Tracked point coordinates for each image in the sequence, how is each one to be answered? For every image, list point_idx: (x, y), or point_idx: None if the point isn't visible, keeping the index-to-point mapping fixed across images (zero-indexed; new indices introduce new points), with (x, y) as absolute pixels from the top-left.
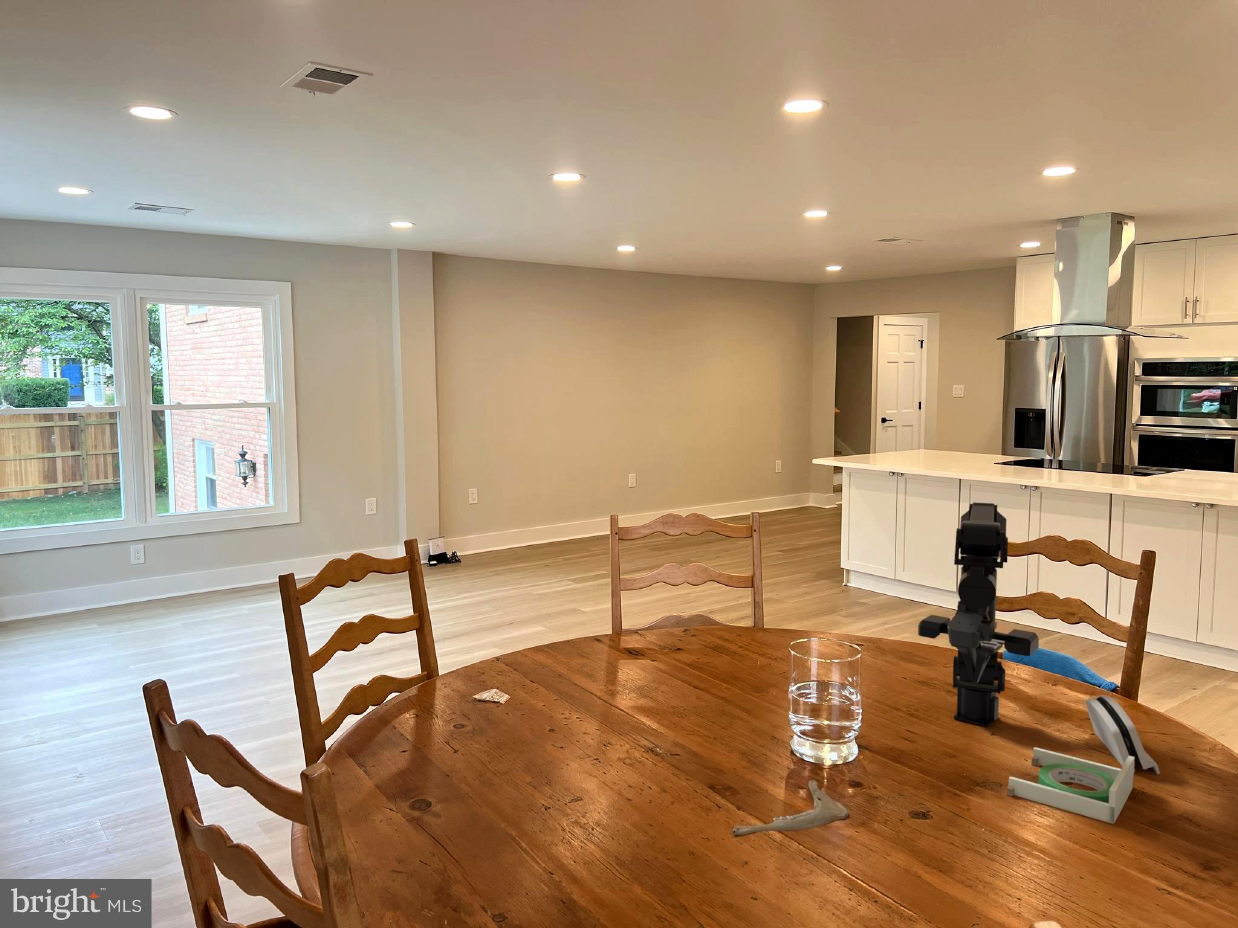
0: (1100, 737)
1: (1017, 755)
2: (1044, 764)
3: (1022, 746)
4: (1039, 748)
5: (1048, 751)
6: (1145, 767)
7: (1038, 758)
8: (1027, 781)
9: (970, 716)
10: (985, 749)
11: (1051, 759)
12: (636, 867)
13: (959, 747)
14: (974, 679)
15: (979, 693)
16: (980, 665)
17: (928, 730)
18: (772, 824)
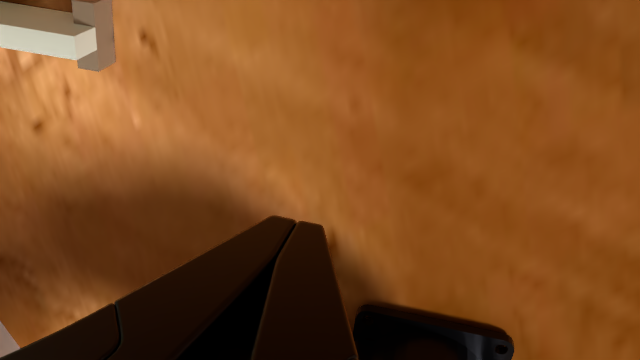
0: (7, 342)
1: (188, 69)
2: (63, 13)
3: (197, 176)
4: (55, 54)
5: (13, 38)
6: None
7: (75, 21)
8: None
9: (435, 343)
10: (324, 65)
11: (15, 15)
12: None
13: (444, 23)
14: (283, 229)
15: None
16: (109, 316)
17: (625, 165)
18: None
